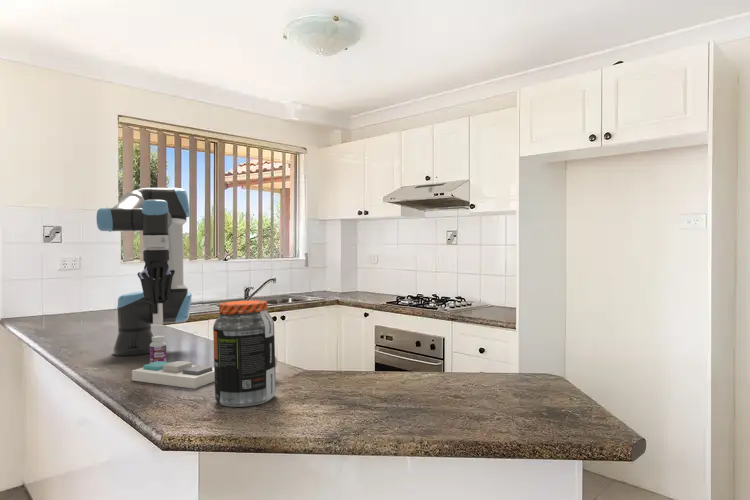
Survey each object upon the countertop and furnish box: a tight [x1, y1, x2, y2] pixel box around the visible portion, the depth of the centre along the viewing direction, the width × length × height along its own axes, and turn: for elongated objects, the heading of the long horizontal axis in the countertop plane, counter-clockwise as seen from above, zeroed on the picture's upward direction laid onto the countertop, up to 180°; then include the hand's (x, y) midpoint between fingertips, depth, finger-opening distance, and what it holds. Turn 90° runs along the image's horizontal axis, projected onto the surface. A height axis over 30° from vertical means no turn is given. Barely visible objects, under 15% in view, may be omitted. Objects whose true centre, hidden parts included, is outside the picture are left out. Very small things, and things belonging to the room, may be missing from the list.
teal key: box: [142, 361, 172, 371], centre depth 161 cm, size 6×6×3 cm
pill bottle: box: [149, 335, 168, 364], centre depth 178 cm, size 5×5×10 cm
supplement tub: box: [212, 299, 277, 408], centre depth 136 cm, size 16×16×26 cm
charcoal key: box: [182, 364, 213, 375], centre depth 154 cm, size 6×6×3 cm
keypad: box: [131, 364, 215, 389], centre depth 158 cm, size 12×25×3 cm, turn 66°
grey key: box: [163, 360, 193, 373], centre depth 158 cm, size 6×6×3 cm
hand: (158, 323), depth 162 cm, fingers closed
